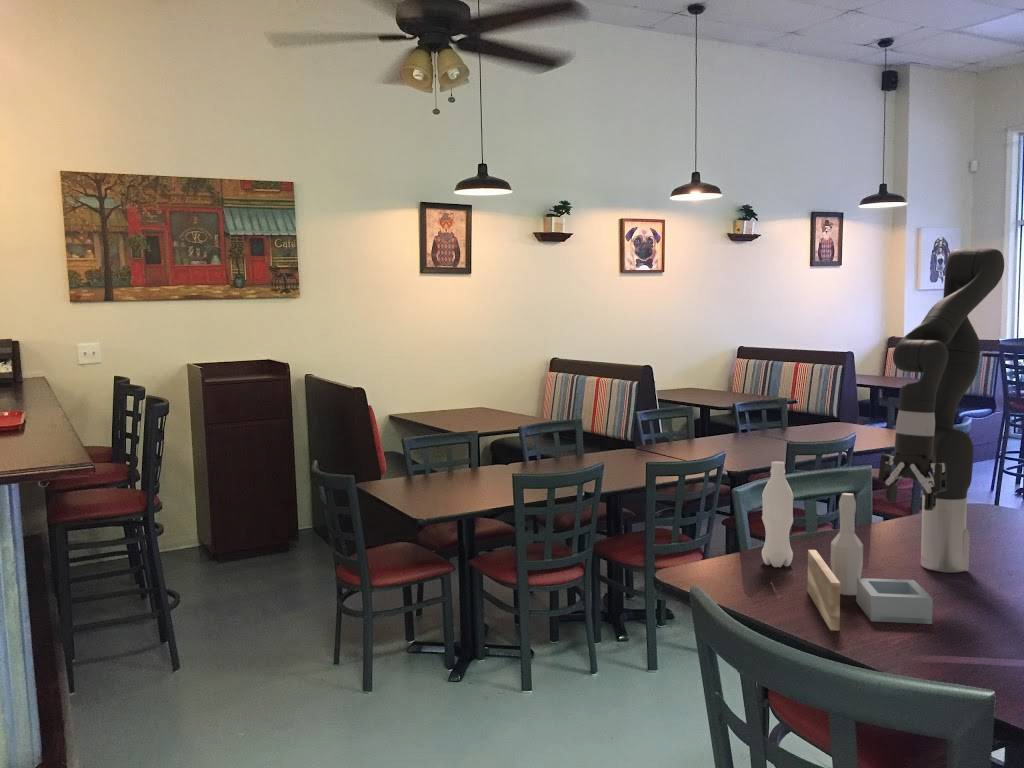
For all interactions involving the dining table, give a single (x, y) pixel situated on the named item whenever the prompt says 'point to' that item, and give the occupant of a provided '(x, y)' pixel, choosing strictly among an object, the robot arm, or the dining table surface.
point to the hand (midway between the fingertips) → (909, 506)
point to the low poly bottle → (847, 548)
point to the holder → (894, 600)
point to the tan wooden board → (824, 589)
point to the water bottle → (777, 517)
